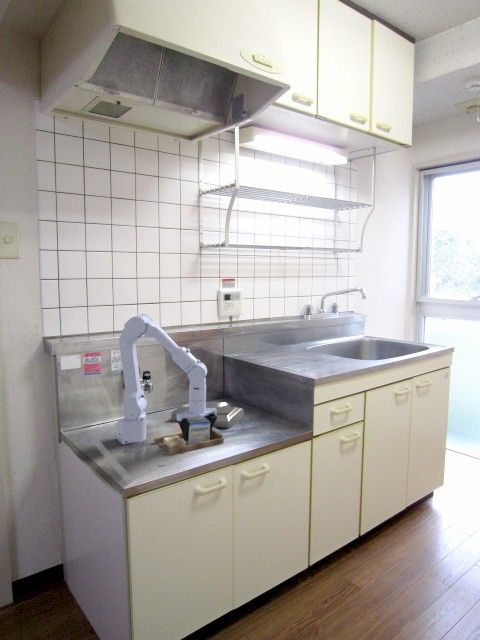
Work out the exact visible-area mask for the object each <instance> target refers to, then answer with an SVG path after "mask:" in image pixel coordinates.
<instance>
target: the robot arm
mask: <svg viewBox="0 0 480 640" xmlns="http://www.w3.org/2000/svg"><path fill="white" fill-rule="evenodd" d="M143 335H144V337H145V338H150V339H151V338H153V339H155V340H156V341H157V342H158V343H159V344H160V345H161V346H162V347H164V348H165V349H166V350H167V351H168V352H169V353H170V354H171V359H172V361H173V362H174V363H176V364H177V366H178V367H179V368H181V369H182V371H184V372H185V373H187V377H188V381H189V386H188V403H189V411H186V412H183V413H180V414H177V421H176V422H177V424H178V426H179V427H180V428H179V429H180V430H181V433H182V434H183V438H182V439H183V440H185V441H188V432H189V426H190V423H189V422H188V420H187V419H191V418H196V417H204V418H207V419H208V420H209V421H210V434H211V431H212V429H213V428H214V427H213V425H214V423H215V421H216V420H217V416H216V415H217V409H216V408H206V402H207V384H206V383H207V380H206V376H207V374H208V368H207V365H206V364H205V363H204V362H201V360H200V359H197V358H196V357H195V356H194V355H193V354H192V353H191V349H190V348H188V347H187V348H186V347H185V346H179V345H178V344H177V343H176V342H175V341H174V340H173V339H172V338H171V337H170V335H168V334H167V332H166V331H165V330H164V329H163V328H162V327H161V326H160V324H158V322H157V321H155V320H154V319H152V317H151V316H150V315H149V314H145V313H141V314H139V315H137V316H132V317H130V318H129V319H128V320H127V321H126V322H125V323H124V326H123V330H122V332H121V333H120V336H119V339H118V343H119V344H118V345H119V351H120V359H121V367H122V374H123V382H124V388H125V393H124V396H123V406H122V410H121V411H122V415H123V416H124V417H123V418H122V419H119V420H117V423H116V440H117V441H118V443H119V442H120V444H122V445H127V444H133V443H140V442H143V441H145V440H146V439H147V414H146V410H147V409H148V405H149V404H148V403H149V402H148V399H147V398H146V396H145V391H144V389H143V388H142V385H141V378H140V376H141V375H140V370H139V369H140V368H139V361H138V355H137V347H136V343H137V342H138V341H139V339H140V338H141V337H142V336H143Z"/></svg>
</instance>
